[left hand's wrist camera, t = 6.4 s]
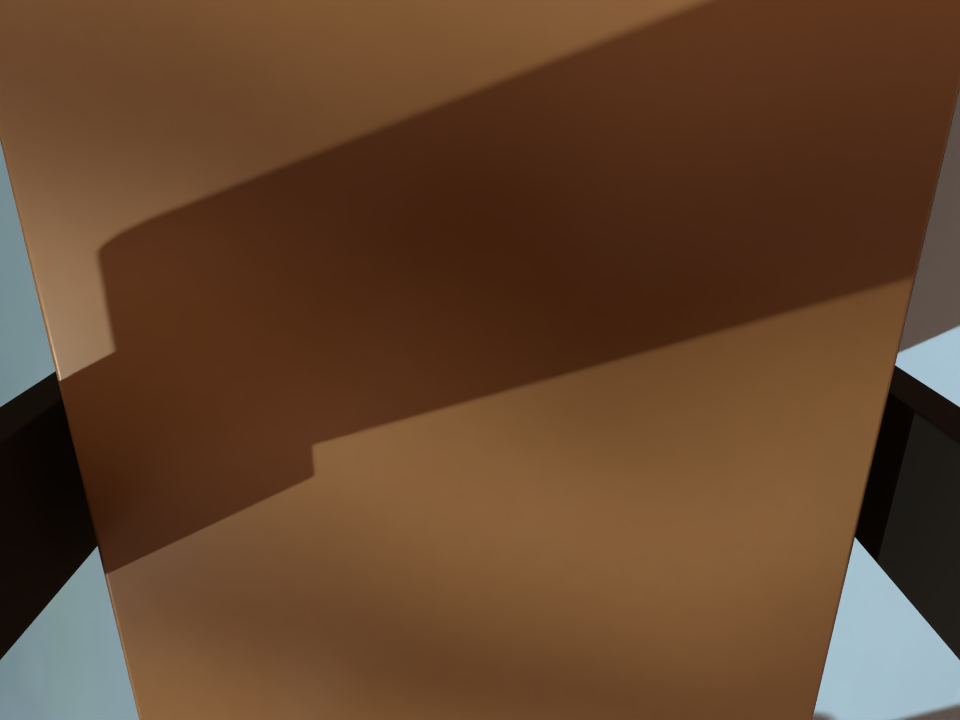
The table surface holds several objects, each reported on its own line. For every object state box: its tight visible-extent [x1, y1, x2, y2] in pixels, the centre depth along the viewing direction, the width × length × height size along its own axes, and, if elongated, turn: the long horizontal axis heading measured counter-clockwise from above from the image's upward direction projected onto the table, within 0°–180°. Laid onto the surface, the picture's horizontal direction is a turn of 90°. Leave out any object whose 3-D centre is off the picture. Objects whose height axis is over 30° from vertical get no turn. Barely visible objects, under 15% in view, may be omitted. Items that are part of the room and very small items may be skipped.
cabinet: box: [0, 0, 960, 720], centre depth 13 cm, size 20×11×10 cm, turn 0°
